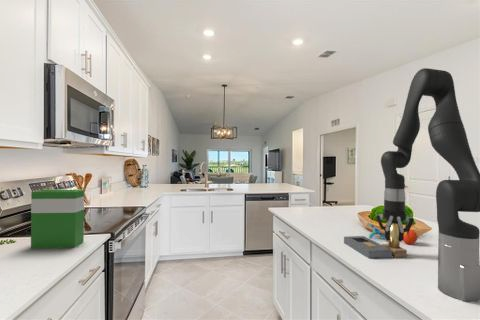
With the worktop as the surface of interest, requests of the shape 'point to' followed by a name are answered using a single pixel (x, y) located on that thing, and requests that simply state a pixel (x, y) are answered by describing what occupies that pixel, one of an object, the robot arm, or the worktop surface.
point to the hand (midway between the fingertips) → (393, 240)
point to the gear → (375, 231)
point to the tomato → (410, 237)
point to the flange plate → (368, 247)
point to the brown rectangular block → (397, 252)
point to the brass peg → (394, 236)
